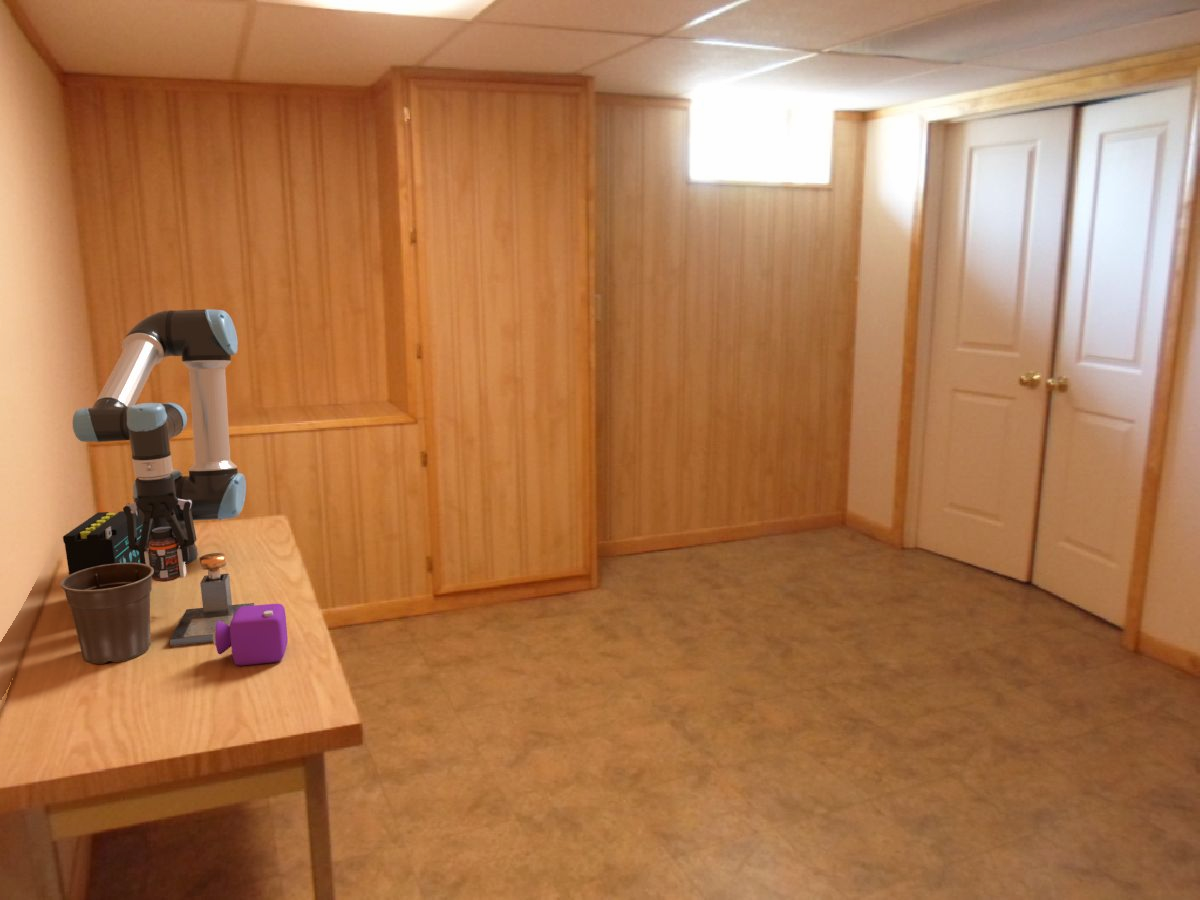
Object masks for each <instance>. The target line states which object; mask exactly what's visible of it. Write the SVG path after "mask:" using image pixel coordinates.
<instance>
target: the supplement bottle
mask: <svg viewBox="0 0 1200 900" xmlns="http://www.w3.org/2000/svg"><path fill="white" fill-rule="evenodd" d="M152 536H153V537H152V539H151V540H150V541H149V553H150V561H151V567H152V568H153V569H154V573H153V575H152V576H153V579H152V580H154V581H155V582H159V583H165V582H166V583H167V582H171V581H175V580H178V579H179V578H180V570H179V562H178V554H177V549H178V547H179V544H178V541H177V539H176V537H175V536H174V535H173V534H172V529H171V527H159V528H155V529H153V530H152Z"/></svg>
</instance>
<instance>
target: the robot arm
mask: <svg viewBox="0 0 1200 900" xmlns="http://www.w3.org/2000/svg"><path fill="white" fill-rule="evenodd" d="M238 345H239V342H238V336H237V331H236V328H235V323H234V322H233V319H232V317H231V316H230V315H229V313H228V312H226V311H225V310H222V309H211V308H210V309H208V308H206V309H188V310H187V309H186V310H185V309H182V310H180V309H179V310H172V309H171V310H170V309H169V310H161V311H158V312H155V313H153V314H151V315H148V316H146V317H145V318H143V319H142V320H140V321H139V322H138V323H137V324H135V325H134V326H133V327H132V328H131V329H130V330H129V331H128V332H127V334H126V335H125V337H124V340H122V344H121V349H122V352H121V354H120V356H119V357H118V360H117V362H116V363H115V365H114V368H113V369H112V371H111V373H110V375H109V377H108V378H107V380H106V382H105V383H104V386H103V388H102V389H101V390H100V393H99V394H98V397H97V398H96V401H95V402H94V404H93V405H92V407H85V408H79V409H77V410H75V412H74V414H73V416H72V429H73V433H74V435H75V438H77V439H78V440H79V441H80V442H88V443H90V442H92V443H93V442H94V443H103V442H105V443H106V442H107V443H108V442H121V441H123V442H124V441H125V442H126V441H129V443H130V449H131V459H132V468H133V472H134V477H136V479H135V480H134V482H133V483H132V491H133V496H132V500H133V503H126V505H124V507H122V510H123V511H124V513H125V515H126V517H127V529H128V544H129V549H130V550H137V551H138V552H139V555H140V562H141V564H146V565H149V566H151V561H150V553H149V541H150V540H151V539H152V537H153V536H152V530H153V529H155V528H159V527H171V529H172V534H173V535H174V536H175V537H176V539H177V541H178V544H179V547H178V549H177V554H178V562H179V570H180V577H179V578H181V579H182V578H185V577H186V575H187V567H186V566H187V565H186V564H185V563H187V564H189V563H192V562H193V561H195V560H196V559H198V557H199V552H198V547H197V545H196V541H197V536H196V535H197V534H196V529H195V522H194V521H211V520H213V521H214V520H218V521H223V520H229V519H235V518H236V517H239V516H240V515H241V513H242V510H243V509H244V506H245V502H246V494H247V482H246V477H245V475H244V474H243V473H241V472H238V466H237V465H236V464H235V463H234V462H233V461H232V460H231V447H230V429H229V427H230V426H229V413H228V410H229V409H228V397H227V396H228V395H227V377H226V368H227V367H228V366H229V365H230V364H231V362H232V358H231V357H232V356H235V355H236V354H238ZM167 357H181V364H183V366H185V367H186V368H187V369H188V372H189V373H188V374H189V388H190V391H189V392H190V402H191V403H190V406H191V420H192V421H191V422H192V423H191V424H192V434H193V435H192V438H193V451H194V453H193V454H194V463H193V464H192V465H191V467H189V469H188V474H189V475H183V472H182V471H181V470H179V469H174V467H173V459H172V453H171V444H170V440H171V439H173V438H175V437H178V435H180V434H181V433H182V431H184V429H185V428H186V426H187V423H188V416H187V413H186V411H185V409H184V408H183V407H181V406H180V405H179V404H177V403H175V402H164V403H162V402H161V403H159V402H146V403H145V402H143V403H137V401H138V400H139V397H140V395H141V393H142V391H143V389H144V387H145V385H146V383H147V381H148V379H149V377H150V374H152V373H151V372H152V371H153V369H154V367H155V366H156V365H158V364H160V363H161V362H162V360H163V358H167ZM136 403H137V404H136ZM136 511H137V515H142V525H143V529H142V533H141V538H140V543H137V528H136V515H135V512H136ZM197 556H198V557H197ZM152 580H154V579H153V576H152Z"/></svg>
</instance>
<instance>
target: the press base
mask: <svg viewBox="0 0 1200 900" xmlns="http://www.w3.org/2000/svg"><path fill="white" fill-rule="evenodd" d="M220 576H221V580H218V581H209V577H208V574H206V575H203V578H202V580H201V581H200V583H199V584H200V594H201V600H202V601H201V602H202V607H194V608H186V609H185V611H184V613H183V614H182V617H181V618H180V621H179V622H178V624H177V626H176V628H175V630H173V631H174V632H173V634H172V635H171V637H170V638H169V643H170V644H169V645H170V647H179V646H180V647H181V646H188V645H189V646H190V645H199V644H209V643H214V642H213V634H214V632H215V630H216V625H217V622H218V621H221V622H223V623H225V624H227V625H228V626H230V623H231V620H232V618H233V616H234V614H235V612H236V610H237V609H238V608H240V607H244V606H254V605H255V603H254V602H249V603H239V604H233V601H232V600H233V599H232V591H231V590H232V589H231V582H230V581H231V580H230V573H220Z"/></svg>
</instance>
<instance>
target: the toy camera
mask: <svg viewBox="0 0 1200 900" xmlns="http://www.w3.org/2000/svg"><path fill="white" fill-rule="evenodd" d="M288 637H289V636H288V627H287V616H286V609H285V607H284V605H283V604H281V603H268V604H267V603H265V604H257V605H255V604H254V606H244V607H240V608H238V609H237V610H236V612H235V614H234V616H233V618H232V620H231V623H230V626H228V625H227V624H225V623H223V622H221V621H218V622H217V625H216V630H215V632H214V634H213V642H212V643H213V644H214V646H215V647H216V653H217V654H218V655H222V654H224V653H225V652H227V651H228V650H229V649H231V655H232V660H233V662H234V664H235V665H237V666H249V665H250V666H251V665H261V664H268V663H269V664H270V663H277V662H280V661H281V660H283V658H284V657H285V653H286V649H287V646H288V641H289V640H288Z"/></svg>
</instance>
